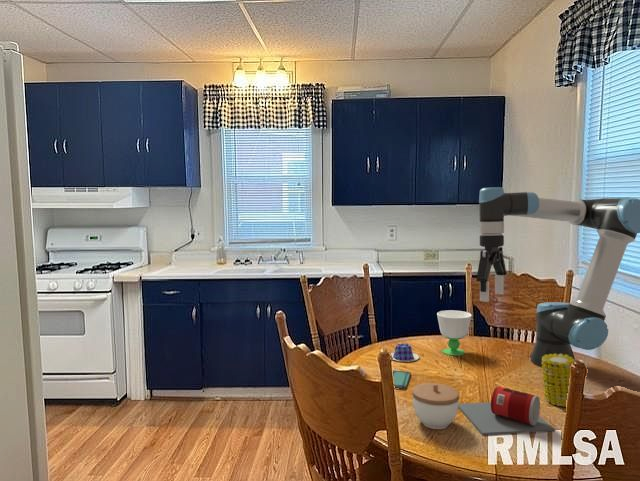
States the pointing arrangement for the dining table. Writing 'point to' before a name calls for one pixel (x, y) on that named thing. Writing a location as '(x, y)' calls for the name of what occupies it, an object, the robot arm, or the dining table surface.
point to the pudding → (404, 353)
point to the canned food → (515, 405)
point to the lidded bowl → (435, 404)
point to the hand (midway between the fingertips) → (492, 297)
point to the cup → (454, 329)
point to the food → (556, 377)
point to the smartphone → (401, 379)
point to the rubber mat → (498, 421)
